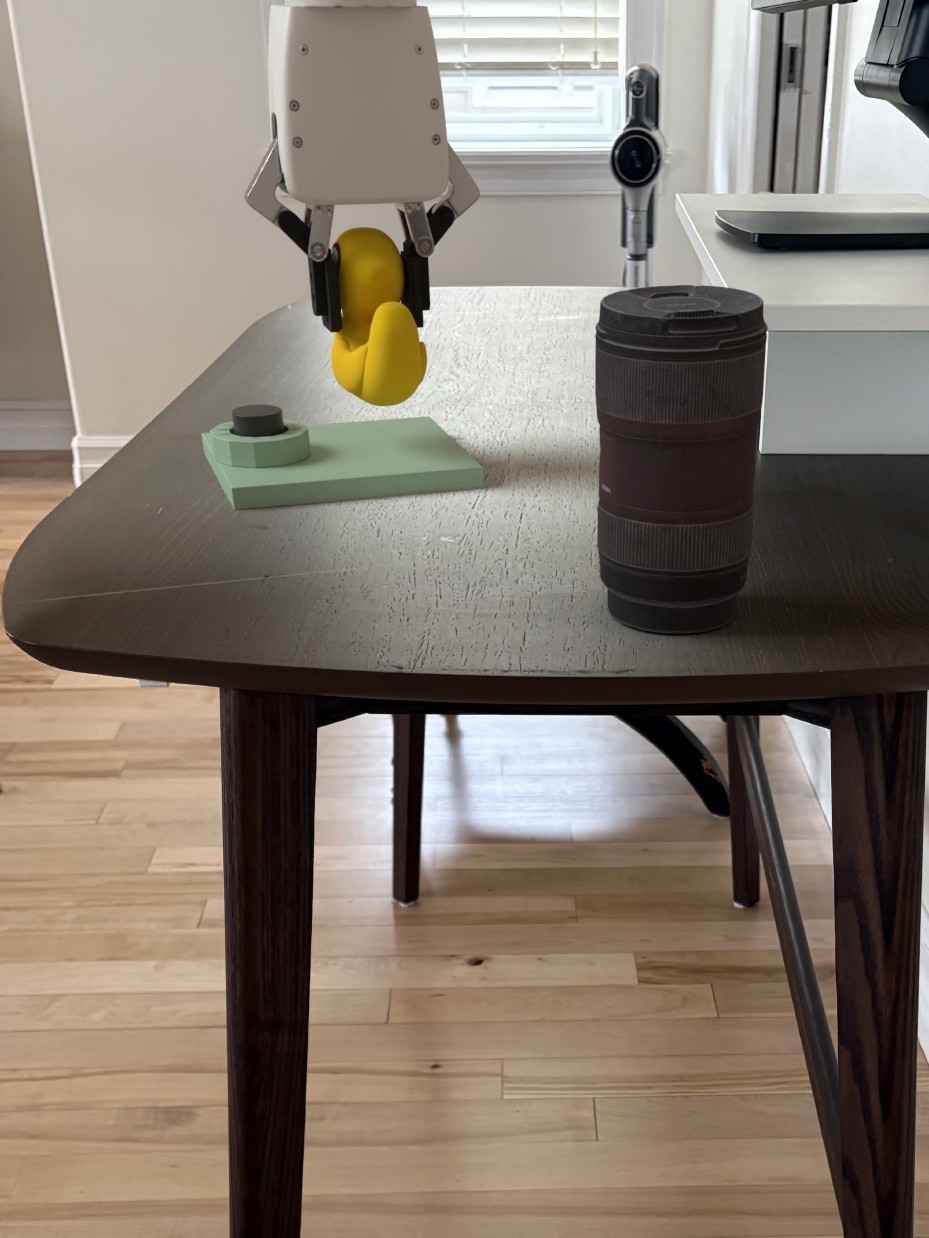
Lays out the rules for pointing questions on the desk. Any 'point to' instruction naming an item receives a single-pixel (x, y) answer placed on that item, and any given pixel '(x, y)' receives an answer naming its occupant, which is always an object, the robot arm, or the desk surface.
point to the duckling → (375, 321)
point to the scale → (338, 462)
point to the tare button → (258, 421)
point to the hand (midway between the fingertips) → (372, 323)
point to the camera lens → (677, 451)
